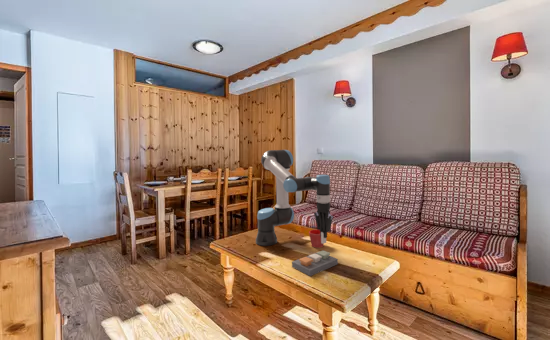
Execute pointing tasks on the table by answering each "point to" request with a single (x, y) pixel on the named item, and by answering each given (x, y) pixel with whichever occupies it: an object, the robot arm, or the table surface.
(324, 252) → the sage button
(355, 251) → the table surface
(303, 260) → the rust button
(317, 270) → the button panel
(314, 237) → the flower pot
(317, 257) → the cream button
